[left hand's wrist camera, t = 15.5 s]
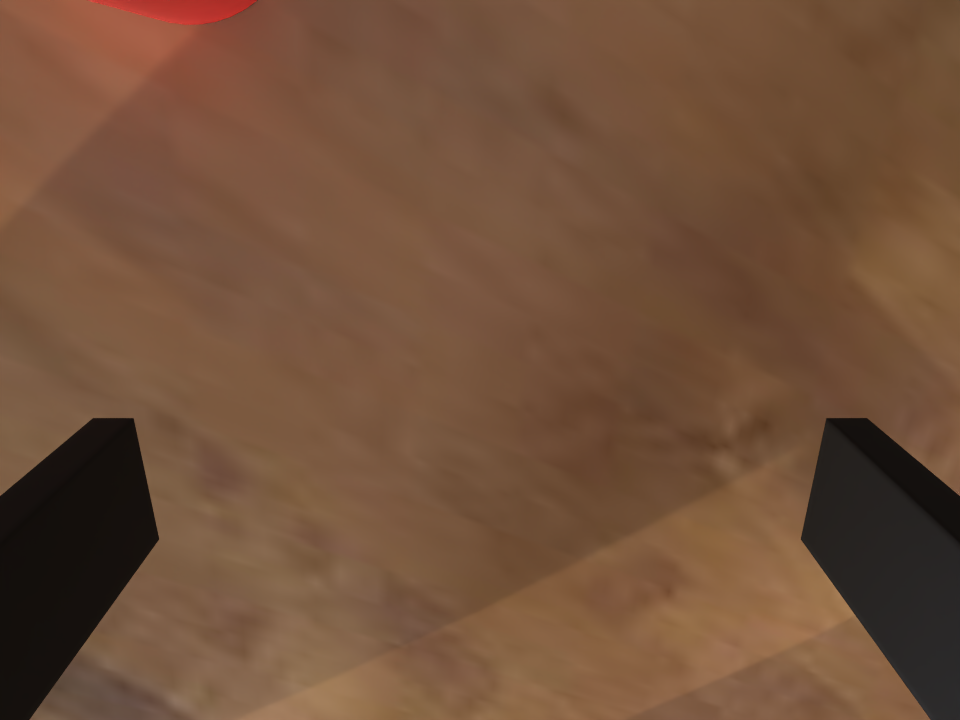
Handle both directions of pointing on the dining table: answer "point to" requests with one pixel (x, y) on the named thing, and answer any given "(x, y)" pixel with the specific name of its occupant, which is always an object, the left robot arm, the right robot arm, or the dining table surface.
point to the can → (182, 9)
